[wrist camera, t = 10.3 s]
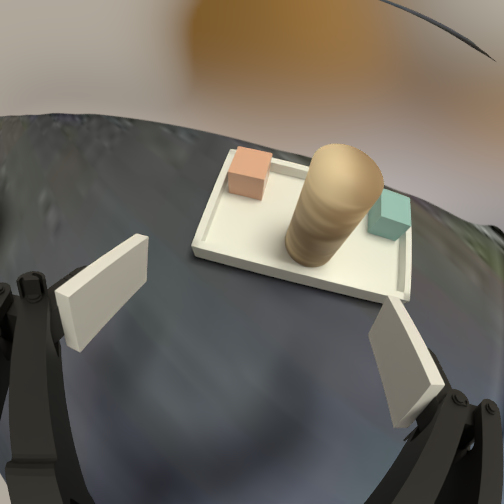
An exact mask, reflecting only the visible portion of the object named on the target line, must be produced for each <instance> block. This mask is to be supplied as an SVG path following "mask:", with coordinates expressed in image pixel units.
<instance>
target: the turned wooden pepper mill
mask: <svg viewBox="0 0 504 504" xmlns="http://www.w3.org/2000/svg"><path fill="white" fill-rule="evenodd" d="M383 188H384V181H383V176H382V174H381V171H380V169H379V168H378V166H377V165H376V163H375V162H374V161H373V160H372V159H371V158H370V157H369V156H368V155H366V154H365V153H364V152H362V151H360V150H359V149H357V148H354V147H352V146H348V145H344V144H329V145H325V146H323V147H321V148H320V149H319V150H317V151H316V152H315V154H314V156H313V158H312V161H311V164H310V167H309V170H308V173H307V176H306V179H305V181H304V184H303V187H302V190H301V193H300V196H299V199H298V202H297V205H296V207H295V210H294V213H293V216H292V219H291V222H290V225H289V227H288V230H287V233H286V236H285V246H286V249H287V252H288V254H289V255H290V256H291V258H292V259H293V260H294V261H296V262H297V263H299V264H301V265H303V266H306V267H319V266H322V265H324V264H326V263H327V262H328V261H329V260H330V259H331V258H332V257H333V256H334V254H335V253H336V252H337V251H338V249H339V248H340V247H341V246H342V244H343V243H344V242H345V241H346V239H347V238H348V237H349V236H350V234H351V233H352V232H353V231H354V229H355V228H356V227H357V226H358V224H359V223H360V222H361V220H362V219H363V218H364V217H365V215H366V214H367V213H368V211H369V210H370V209H371V207H372V206H373V205H374V203H375V202H376V201H377V200H378V198H379V197H380V195H381V194H382V191H383Z"/></svg>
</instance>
